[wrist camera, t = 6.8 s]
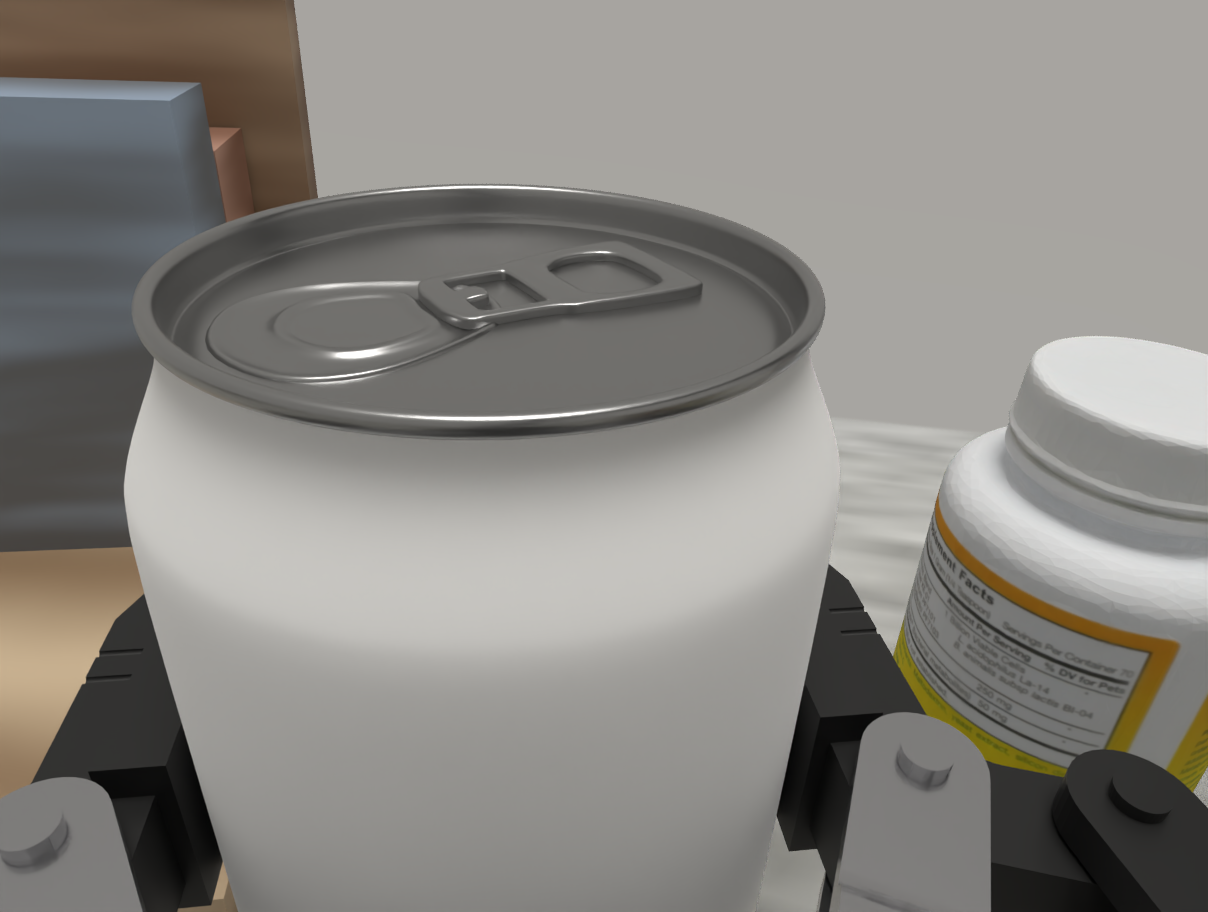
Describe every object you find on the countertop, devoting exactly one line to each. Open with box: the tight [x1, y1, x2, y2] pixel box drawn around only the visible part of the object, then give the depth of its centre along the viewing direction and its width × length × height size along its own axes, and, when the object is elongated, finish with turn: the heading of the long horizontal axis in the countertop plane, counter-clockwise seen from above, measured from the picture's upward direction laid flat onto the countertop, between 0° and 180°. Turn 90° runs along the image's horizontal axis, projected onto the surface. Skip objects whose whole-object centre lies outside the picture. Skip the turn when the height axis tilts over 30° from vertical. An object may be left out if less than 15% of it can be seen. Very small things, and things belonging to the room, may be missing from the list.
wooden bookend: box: [0, 0, 318, 912], centre depth 18 cm, size 17×10×14 cm, turn 7°
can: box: [124, 184, 841, 912], centre depth 11 cm, size 6×6×12 cm
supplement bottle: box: [893, 336, 1208, 792], centre depth 16 cm, size 6×6×10 cm
